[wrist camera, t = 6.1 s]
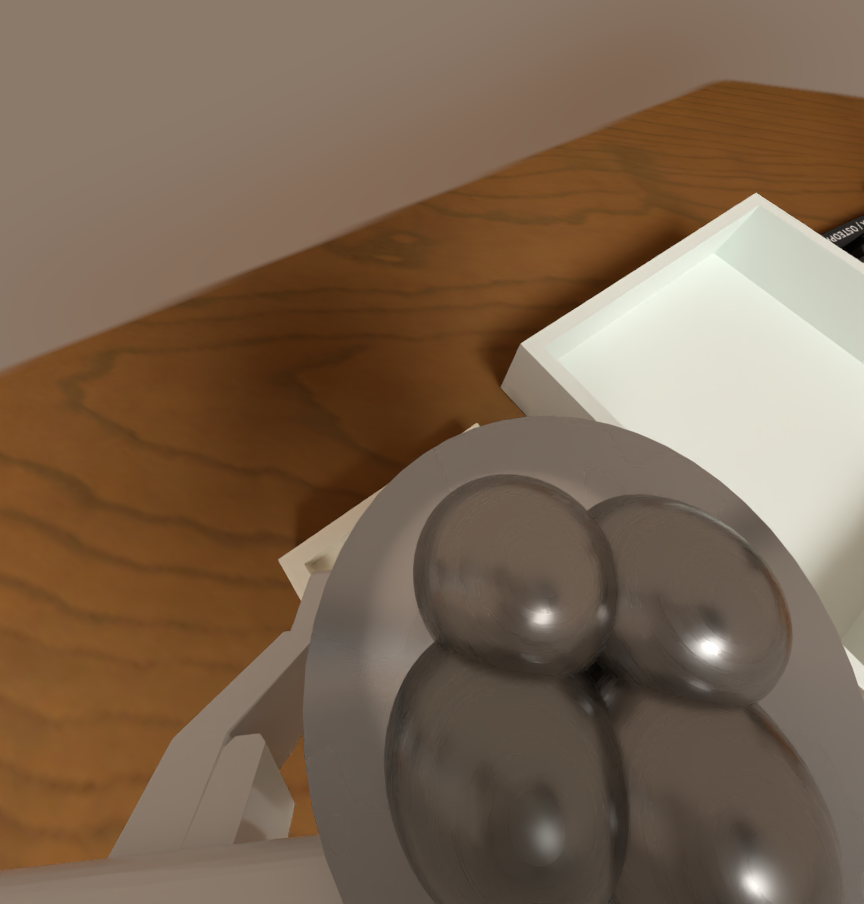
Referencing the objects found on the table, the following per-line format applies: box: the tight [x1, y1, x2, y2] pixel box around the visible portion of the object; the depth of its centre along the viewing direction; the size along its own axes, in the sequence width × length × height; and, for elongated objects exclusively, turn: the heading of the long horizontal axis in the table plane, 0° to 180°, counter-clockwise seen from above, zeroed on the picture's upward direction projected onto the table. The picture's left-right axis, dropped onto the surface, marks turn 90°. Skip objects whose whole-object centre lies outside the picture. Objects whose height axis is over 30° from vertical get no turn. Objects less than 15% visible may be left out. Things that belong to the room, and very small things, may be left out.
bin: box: [500, 193, 864, 690], centre depth 17 cm, size 20×20×4 cm
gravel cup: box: [303, 416, 864, 904], centre depth 8 cm, size 6×6×13 cm
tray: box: [278, 423, 480, 600], centre depth 14 cm, size 11×11×2 cm
